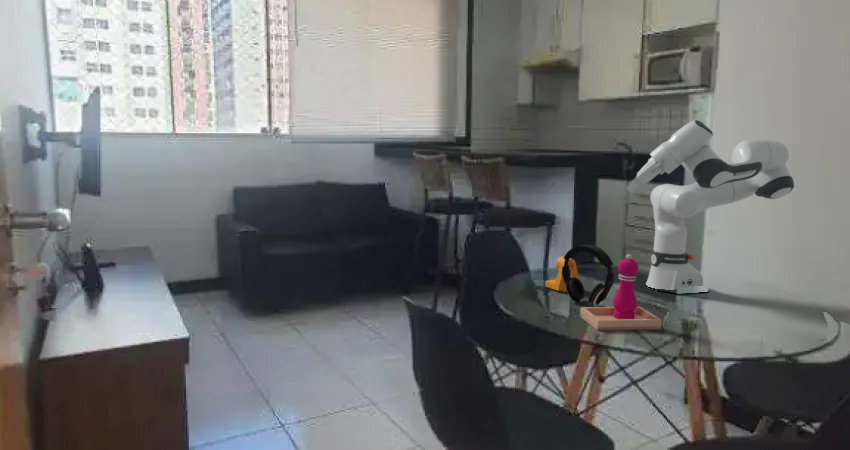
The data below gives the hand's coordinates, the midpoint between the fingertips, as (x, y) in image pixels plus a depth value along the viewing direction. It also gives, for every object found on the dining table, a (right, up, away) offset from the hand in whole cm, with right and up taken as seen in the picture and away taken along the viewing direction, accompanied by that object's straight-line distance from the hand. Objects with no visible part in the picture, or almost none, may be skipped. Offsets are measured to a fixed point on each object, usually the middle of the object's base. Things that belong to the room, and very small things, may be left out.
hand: (628, 188), depth 195 cm
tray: (-7, -42, -13) cm, 44 cm away
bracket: (-16, -36, +24) cm, 46 cm away
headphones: (-13, -39, +6) cm, 41 cm away
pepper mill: (-5, -41, -11) cm, 42 cm away
